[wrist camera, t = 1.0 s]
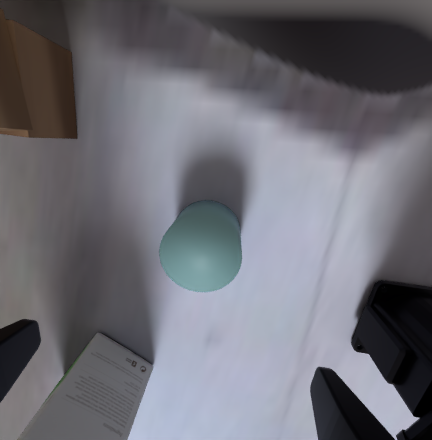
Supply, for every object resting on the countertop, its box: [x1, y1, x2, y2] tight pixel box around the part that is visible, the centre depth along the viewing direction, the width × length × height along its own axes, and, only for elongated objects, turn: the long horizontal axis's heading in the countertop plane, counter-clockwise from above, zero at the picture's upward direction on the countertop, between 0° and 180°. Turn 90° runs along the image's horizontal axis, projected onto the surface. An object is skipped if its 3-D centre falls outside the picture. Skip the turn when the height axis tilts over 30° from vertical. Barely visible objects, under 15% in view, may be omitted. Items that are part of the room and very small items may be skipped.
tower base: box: [0, 19, 77, 139], centre depth 13 cm, size 5×5×4 cm
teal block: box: [159, 200, 242, 292], centre depth 15 cm, size 5×5×4 cm
